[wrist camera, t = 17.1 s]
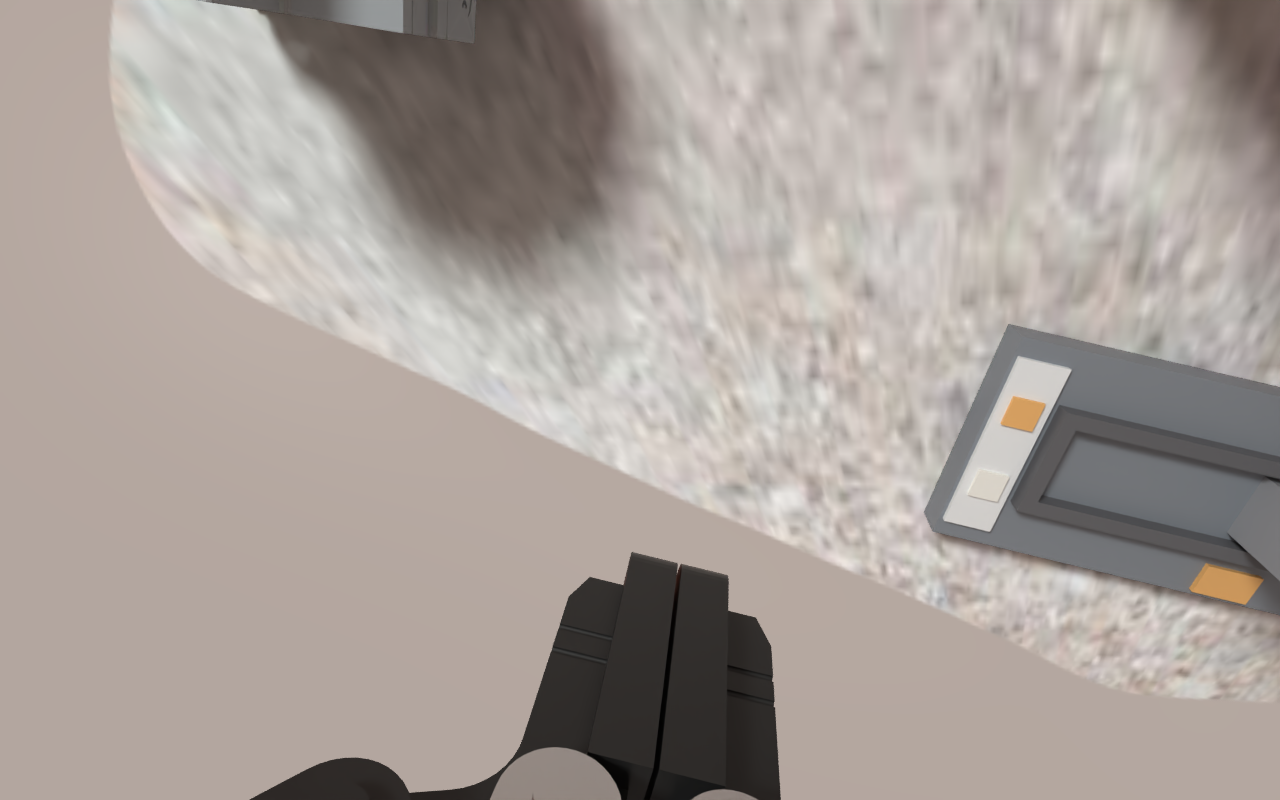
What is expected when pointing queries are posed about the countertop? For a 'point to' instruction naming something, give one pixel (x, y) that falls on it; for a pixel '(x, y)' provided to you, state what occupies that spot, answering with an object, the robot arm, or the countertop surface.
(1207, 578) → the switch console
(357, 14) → the circuit breaker
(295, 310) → the countertop surface
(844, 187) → the countertop surface
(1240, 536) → the switch orange
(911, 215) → the countertop surface
